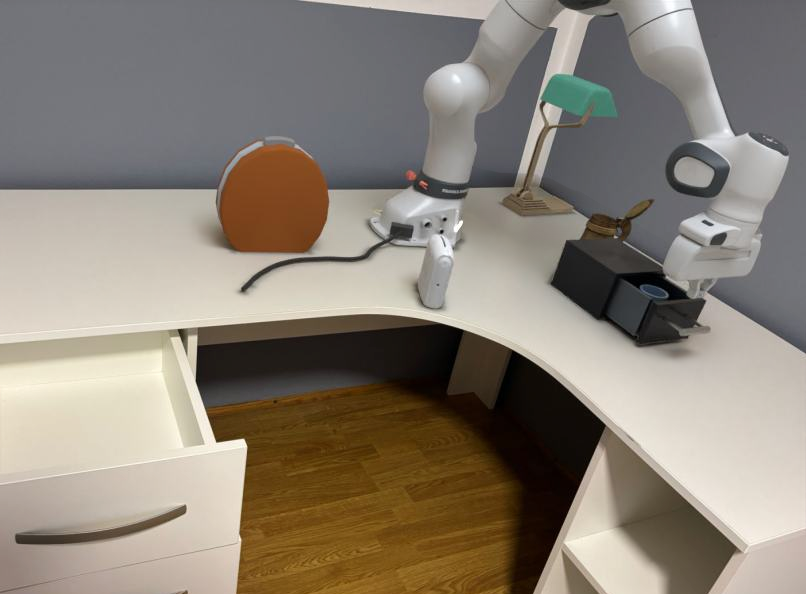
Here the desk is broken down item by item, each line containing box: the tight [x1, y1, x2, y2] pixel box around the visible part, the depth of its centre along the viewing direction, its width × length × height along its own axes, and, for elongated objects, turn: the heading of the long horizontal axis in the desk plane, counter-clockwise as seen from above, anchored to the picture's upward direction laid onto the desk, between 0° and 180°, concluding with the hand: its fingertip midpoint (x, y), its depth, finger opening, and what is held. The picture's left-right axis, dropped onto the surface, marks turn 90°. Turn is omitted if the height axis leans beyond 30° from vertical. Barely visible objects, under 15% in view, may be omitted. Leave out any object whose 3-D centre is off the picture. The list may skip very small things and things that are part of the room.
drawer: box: [603, 274, 712, 346], centre depth 139 cm, size 20×13×9 cm
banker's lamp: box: [501, 73, 619, 217], centre depth 190 cm, size 16×21×35 cm
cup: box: [639, 284, 669, 325], centre depth 141 cm, size 6×6×6 cm
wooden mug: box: [579, 198, 655, 243], centre depth 165 cm, size 9×14×18 cm, turn 77°
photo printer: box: [417, 234, 455, 309], centre depth 137 cm, size 10×4×12 cm, turn 3°
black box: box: [550, 237, 667, 320], centre depth 150 cm, size 16×15×11 cm
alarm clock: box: [215, 135, 330, 254], centre depth 143 cm, size 22×10×23 cm, turn 108°
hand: (694, 297), depth 131 cm, fingers closed
